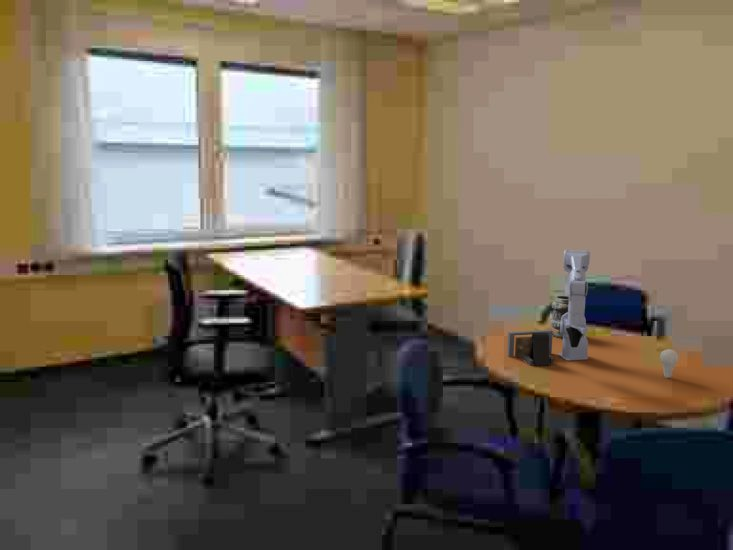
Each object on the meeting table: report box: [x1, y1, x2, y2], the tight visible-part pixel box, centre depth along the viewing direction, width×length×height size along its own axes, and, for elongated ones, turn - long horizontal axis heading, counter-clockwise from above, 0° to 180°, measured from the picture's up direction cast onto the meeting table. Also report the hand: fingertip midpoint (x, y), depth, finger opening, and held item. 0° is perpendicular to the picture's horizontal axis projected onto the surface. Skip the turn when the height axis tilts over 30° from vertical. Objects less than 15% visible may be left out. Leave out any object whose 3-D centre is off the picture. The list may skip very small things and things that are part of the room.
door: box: [514, 336, 532, 358], centre depth 255 cm, size 14×3×8 cm, turn 99°
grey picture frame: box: [506, 329, 554, 357], centre depth 258 cm, size 19×2×10 cm, turn 99°
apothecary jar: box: [549, 295, 569, 339], centre depth 283 cm, size 12×12×18 cm
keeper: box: [520, 353, 555, 366], centre depth 251 cm, size 10×9×2 cm
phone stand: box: [529, 333, 551, 367], centre depth 249 cm, size 9×6×12 cm, turn 1°
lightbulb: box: [659, 348, 679, 379], centre depth 231 cm, size 6×6×11 cm
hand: (574, 346), depth 236 cm, fingers closed
